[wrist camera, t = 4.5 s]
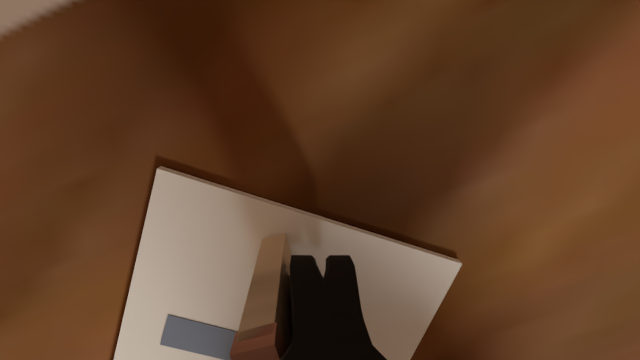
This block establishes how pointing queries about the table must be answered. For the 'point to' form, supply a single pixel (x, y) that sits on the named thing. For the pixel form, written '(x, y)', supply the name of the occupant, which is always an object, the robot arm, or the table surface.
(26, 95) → the table surface
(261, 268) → the folding panel
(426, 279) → the card
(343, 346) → the robot arm
